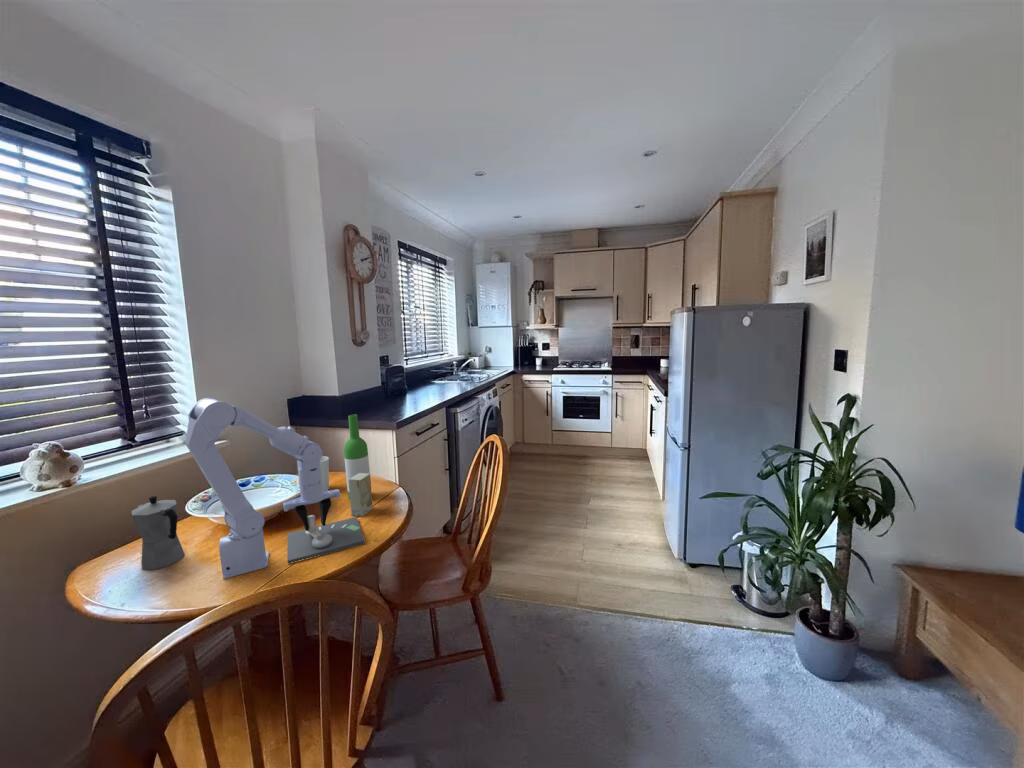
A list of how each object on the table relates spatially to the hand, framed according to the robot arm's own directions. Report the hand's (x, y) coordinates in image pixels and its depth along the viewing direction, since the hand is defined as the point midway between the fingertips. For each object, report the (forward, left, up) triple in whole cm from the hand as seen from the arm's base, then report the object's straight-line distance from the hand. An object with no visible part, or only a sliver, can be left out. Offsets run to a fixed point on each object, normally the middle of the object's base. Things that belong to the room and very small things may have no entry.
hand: (315, 526), depth 117 cm
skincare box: (+14, +10, -3) cm, 18 cm away
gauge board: (+2, -3, -3) cm, 5 cm away
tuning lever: (0, -3, -2) cm, 4 cm away
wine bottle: (+15, +22, -3) cm, 27 cm away
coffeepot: (-36, +8, -3) cm, 37 cm away
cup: (+3, +37, -3) cm, 37 cm away
